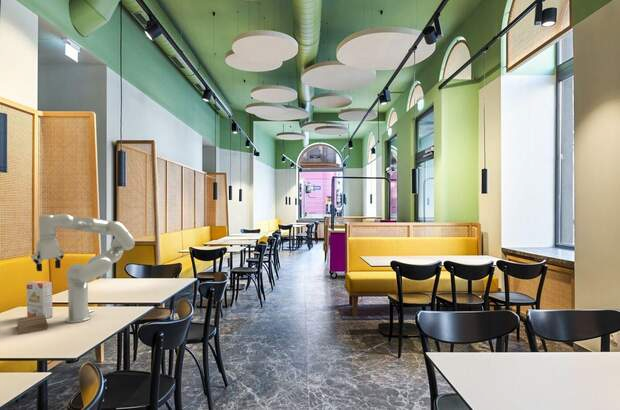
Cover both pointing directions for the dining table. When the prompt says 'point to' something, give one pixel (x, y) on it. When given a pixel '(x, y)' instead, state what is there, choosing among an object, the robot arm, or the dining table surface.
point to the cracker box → (39, 299)
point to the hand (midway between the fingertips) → (48, 269)
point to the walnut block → (32, 324)
